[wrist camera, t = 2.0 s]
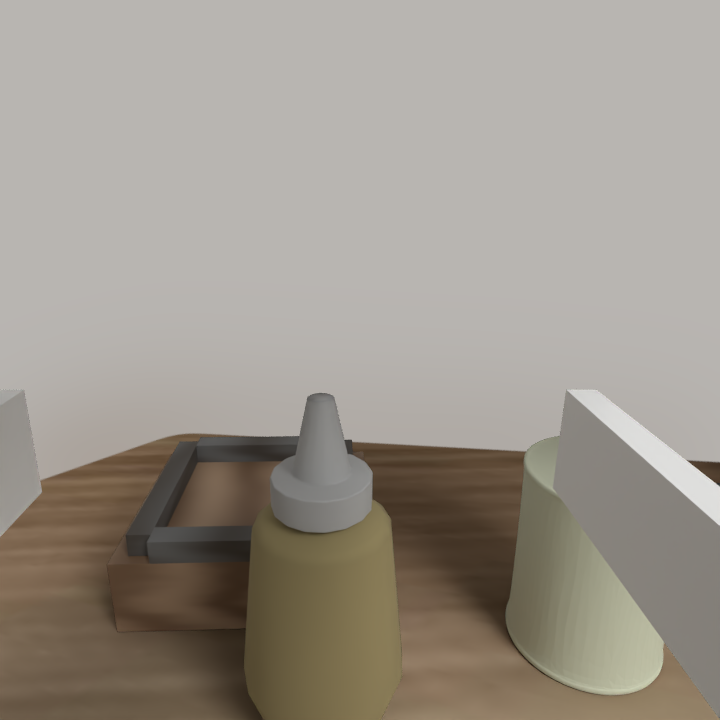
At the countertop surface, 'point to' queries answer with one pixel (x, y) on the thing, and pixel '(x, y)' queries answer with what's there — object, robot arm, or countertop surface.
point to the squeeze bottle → (322, 585)
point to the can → (573, 596)
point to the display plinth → (196, 536)
